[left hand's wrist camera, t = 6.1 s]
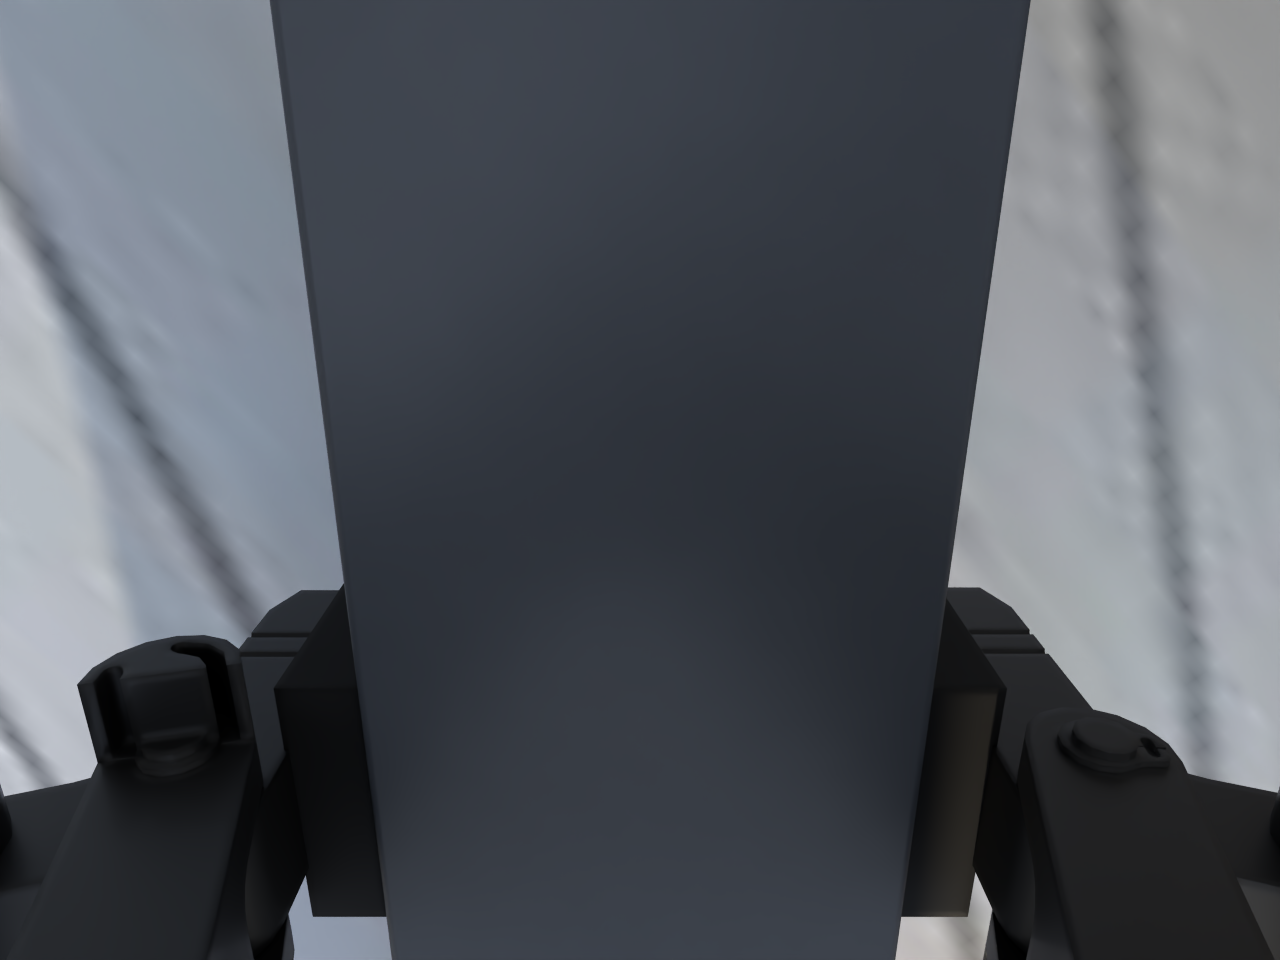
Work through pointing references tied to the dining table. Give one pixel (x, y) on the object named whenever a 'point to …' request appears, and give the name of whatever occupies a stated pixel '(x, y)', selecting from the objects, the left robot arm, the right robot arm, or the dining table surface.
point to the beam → (647, 447)
